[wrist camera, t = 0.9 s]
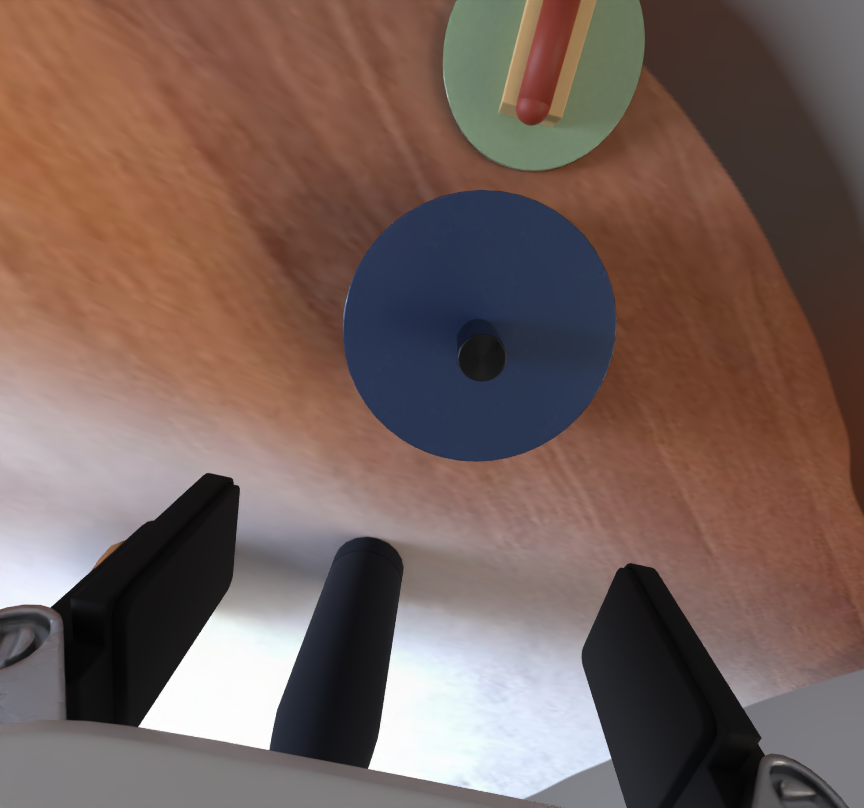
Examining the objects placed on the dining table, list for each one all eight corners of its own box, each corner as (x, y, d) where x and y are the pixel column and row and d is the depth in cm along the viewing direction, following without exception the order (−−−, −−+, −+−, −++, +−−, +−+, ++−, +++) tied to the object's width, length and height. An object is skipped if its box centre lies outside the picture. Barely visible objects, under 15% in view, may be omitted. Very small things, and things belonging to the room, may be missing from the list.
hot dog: (534, -32, 25) (545, -69, 22) (594, -15, 26) (613, -49, 23) (494, 126, 28) (500, 111, 25) (549, 140, 28) (561, 128, 25)
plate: (429, -38, 26) (429, -46, 25) (641, -84, 25) (645, -93, 24) (456, 186, 30) (456, 185, 29) (639, 155, 29) (644, 153, 28)
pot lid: (320, 217, 25) (285, 210, 20) (607, 169, 24) (652, 147, 18) (373, 466, 30) (357, 513, 25) (612, 439, 29) (648, 482, 24)
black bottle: (358, 524, 39) (124, 1225, 11) (417, 561, 41) (338, 1287, 12) (320, 570, 41) (39, 1271, 13) (378, 604, 42) (231, 1321, 14)
